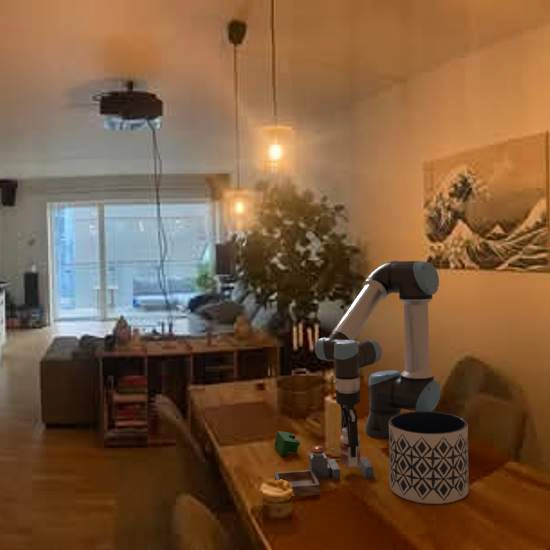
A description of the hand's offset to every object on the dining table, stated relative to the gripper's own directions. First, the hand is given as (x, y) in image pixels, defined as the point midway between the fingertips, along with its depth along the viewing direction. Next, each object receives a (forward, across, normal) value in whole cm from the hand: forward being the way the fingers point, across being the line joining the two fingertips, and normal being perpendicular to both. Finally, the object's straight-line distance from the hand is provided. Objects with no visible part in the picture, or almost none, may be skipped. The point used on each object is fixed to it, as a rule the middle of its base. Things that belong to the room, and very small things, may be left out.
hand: (350, 462), depth 201 cm
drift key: (+2, 0, -10) cm, 11 cm away
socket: (+4, 0, -4) cm, 5 cm away
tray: (+3, +8, -18) cm, 21 cm away
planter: (+4, +16, +20) cm, 26 cm away
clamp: (+4, -24, -17) cm, 30 cm away
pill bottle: (+1, 0, 0) cm, 1 cm away
